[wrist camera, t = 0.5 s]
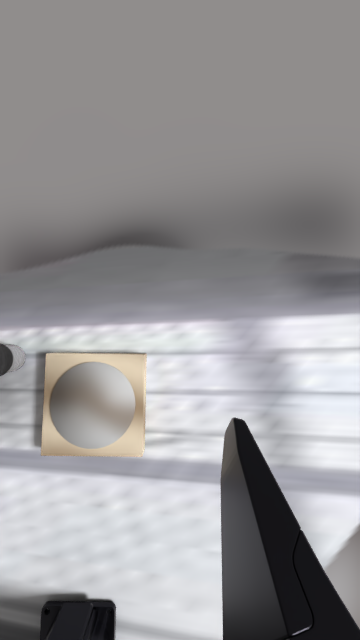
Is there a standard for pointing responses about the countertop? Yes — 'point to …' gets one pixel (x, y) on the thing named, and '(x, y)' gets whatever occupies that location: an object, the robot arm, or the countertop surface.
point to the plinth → (94, 404)
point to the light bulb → (10, 358)
